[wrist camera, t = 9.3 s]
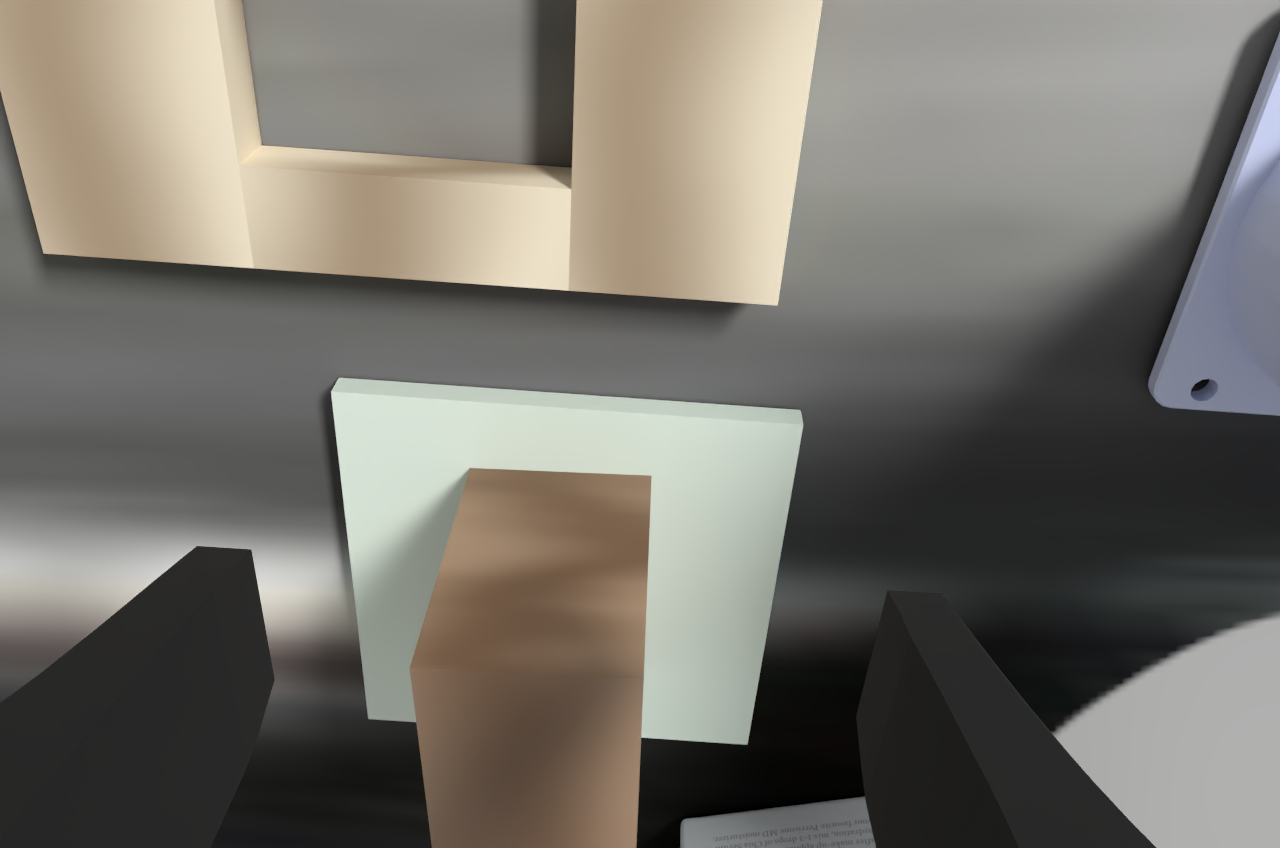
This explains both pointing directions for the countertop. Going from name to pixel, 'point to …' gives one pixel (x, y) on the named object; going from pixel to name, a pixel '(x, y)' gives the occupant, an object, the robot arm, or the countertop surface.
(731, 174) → the pocket plate
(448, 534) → the sage tile
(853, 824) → the skincare box
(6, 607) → the countertop surface
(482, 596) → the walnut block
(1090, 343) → the countertop surface
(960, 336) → the countertop surface
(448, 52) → the countertop surface
